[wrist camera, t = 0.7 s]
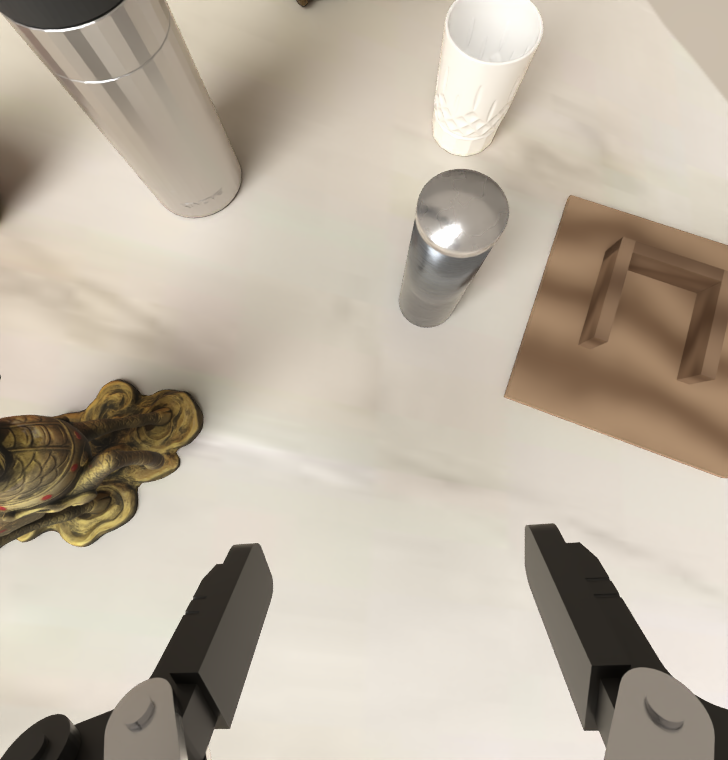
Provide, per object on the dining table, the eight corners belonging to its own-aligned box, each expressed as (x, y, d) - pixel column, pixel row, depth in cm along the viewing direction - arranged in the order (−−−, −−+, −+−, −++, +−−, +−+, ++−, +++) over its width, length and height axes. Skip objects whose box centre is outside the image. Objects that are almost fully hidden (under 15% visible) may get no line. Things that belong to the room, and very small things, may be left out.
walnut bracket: (721, 477, 32) (757, 480, 29) (503, 396, 34) (517, 391, 31) (765, 262, 36) (802, 245, 33) (567, 198, 38) (585, 176, 35)
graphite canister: (389, 287, 36) (402, 188, 22) (439, 266, 36) (482, 156, 23) (413, 336, 35) (441, 264, 21) (464, 314, 36) (525, 229, 22)
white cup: (441, 89, 40) (465, -26, 31) (510, 113, 40) (556, 2, 30) (415, 146, 39) (430, 45, 29) (485, 172, 38) (525, 76, 29)
